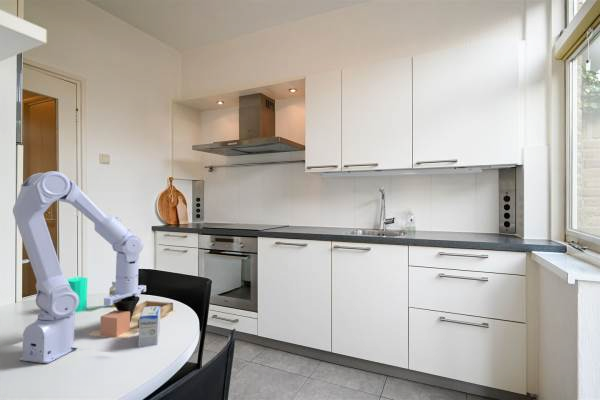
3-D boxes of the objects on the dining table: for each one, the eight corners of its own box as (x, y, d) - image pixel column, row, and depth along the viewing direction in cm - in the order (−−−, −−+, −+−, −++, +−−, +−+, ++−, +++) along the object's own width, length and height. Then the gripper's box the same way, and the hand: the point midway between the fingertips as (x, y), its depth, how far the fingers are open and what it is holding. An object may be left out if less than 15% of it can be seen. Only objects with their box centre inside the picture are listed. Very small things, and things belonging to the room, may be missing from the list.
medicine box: (141, 338, 84) (142, 306, 85) (159, 336, 86) (160, 305, 86) (137, 351, 77) (139, 316, 77) (157, 349, 79) (158, 314, 79)
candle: (67, 308, 108) (68, 273, 108) (88, 305, 110) (89, 272, 111) (63, 313, 102) (64, 277, 103) (84, 311, 105) (85, 275, 105)
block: (116, 336, 83) (116, 318, 83) (100, 335, 84) (100, 316, 84) (129, 329, 88) (130, 311, 88) (114, 327, 89) (114, 310, 89)
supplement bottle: (107, 307, 110) (108, 279, 110) (124, 304, 113) (125, 277, 113) (110, 311, 105) (111, 282, 106) (127, 308, 109) (128, 280, 109)
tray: (125, 342, 82) (126, 329, 82) (86, 338, 84) (87, 325, 84) (175, 313, 104) (175, 303, 104) (143, 310, 106) (144, 300, 106)
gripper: (120, 282, 82) (119, 334, 82) (155, 271, 96) (154, 315, 96) (97, 281, 83) (96, 332, 83) (135, 270, 98) (134, 313, 97)
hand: (125, 323), depth 90 cm, fingers closed
